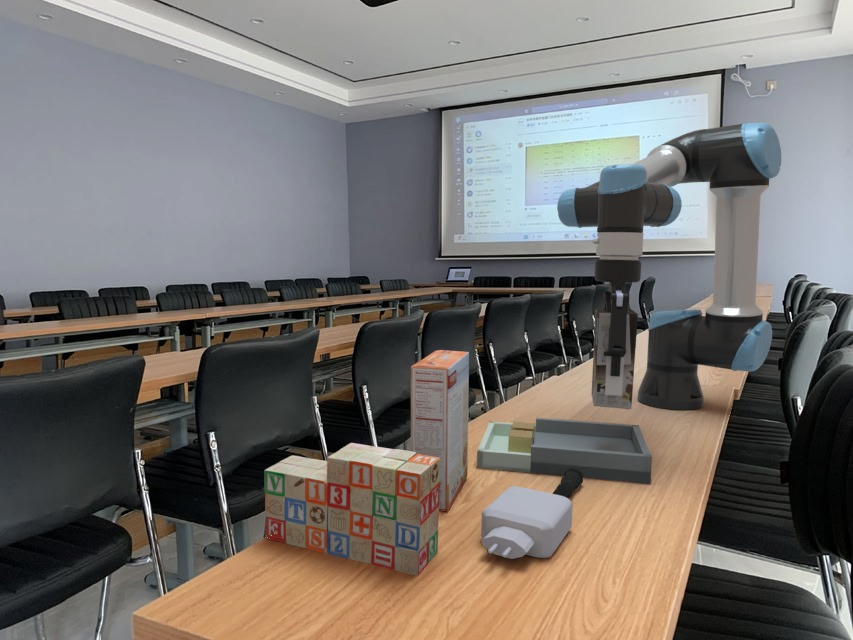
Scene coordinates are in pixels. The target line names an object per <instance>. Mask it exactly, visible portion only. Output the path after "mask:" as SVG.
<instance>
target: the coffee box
mask: <svg viewBox="0 0 853 640" xmlns="http://www.w3.org/2000/svg"><path fill="white" fill-rule="evenodd" d="M638 317H639V314H638V313H637V312H636V311H634V310H633V309H631V308H628V312H627V324H626V354H625V355H624V370H623V388H622V396H618V395H605V381H606V362H607V356H604V351H608V342H609V328H610V318H611V313H608V312H606V310H604V308H599V307H598V308H595V317H594V333H593V335H594V337H593V356H592V380H591V394H590V395H591V399H592V402H593V403H592V404H593V406H594V407H598V408H600V407H601V408H613V409H624V410H631V409H632V405H633V404H632V403H633V390H634V378H635V377H634V373H635V364H636V363H635V361H636V348H637V334H638V333H637V331H638V322H639V321H638V320H639V319H638Z"/></svg>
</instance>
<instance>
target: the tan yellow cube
mask: <svg viewBox="0 0 853 640" xmlns="http://www.w3.org/2000/svg"><path fill="white" fill-rule="evenodd" d="M532 439H533V431H524V430H511V429H510V433H509V442H508V452H519V453H531V445H532Z"/></svg>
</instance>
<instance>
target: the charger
mask: <svg viewBox="0 0 853 640" xmlns="http://www.w3.org/2000/svg"><path fill="white" fill-rule="evenodd" d="M572 523H573V502H572V500H570V498H569V499H568V498H566V497H564V496H560V495H556V494H552V493H551V492H550V493H549V492H546V491H541V490H535V489H532V488H527V487H521V486H518V485H517V486H516V485H515V486H509V487H508V488H507V489H505V491H503V492H502V493H501V494H500V495H499V496H498V497H497V498H496V499H494V500H493V501H492V502H491V503H490V504H489V505H488V506H487V507H485V508H484V509H483V510H482V511H481V526H480V527H481V529H480V530H481V531H480V536H481V539H482V540H480V542H481V544H482V545H483V546H484V547H485V548H486V549H487V553H488V554H494V555H497V556H500V557H502V558H508V559H511V560H513V559H517V558H522V557H524V556H525V555H526V556H530V557H533V558H540V559H548V558H549V559H550V557H552V555H553V554H554V552H555V551H556V550H557V548H558V547H559V545H560V544H561V543H562V541H563V540H564V539H565V537H566V535H567V534H568V533H569V531H570V530H571V529H572V525H573V524H572Z"/></svg>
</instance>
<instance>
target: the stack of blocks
mask: <svg viewBox="0 0 853 640" xmlns="http://www.w3.org/2000/svg"><path fill="white" fill-rule="evenodd" d="M263 473H264V474H263V475H264V476H263V477H264V478H263V479H264V481H263V482H264V490H263V491H264V494H265V500H264V507H265V508H264V511H265V512H264V513H265V539H267V537H268V540H271V541H276V542H281V543H285V544H287V545H290V546H294V547H299V548H301V549H302V548H303V549H307V550H309V551H310V550H311V551H314V552H319V553H322V554H324V555H325V554H328V555H332V556H335V557H339V558H344V559H348V560H353V561H356V562H362V563H364V564H369V565H372V566H376V567H380V568H385V569H389V570H391V571H396V572H399V573H403V574H404V573H405V574H407V575H412V576H416V577H419V576H420V575H421V574H422V572H423V571H424V570H425V569H426V568H427V566H428V565H429V563H430V562H431V561H432V559H433V558H434V557H435V556H436V555H437V554H438V547H439V544H438V543H439V530H438V529H439V516H440V515H439V513H440V512H439V511H440V510H439V500H440V458H439V457H433V456H427V455H422V454H417V453H416V452H412V451H411V450H405V449H399V448H394V449H393V448H387V447H382V446H375V445H374V446H372V445H367V444H363V443H362V444H361V443H355V442H350V443H348V444H346V445H345V446H343V447H342V448H340V449H339V450H337V451H336V452H334V453H332V454H331V455H329V456H327V457H326V460H322V459H321V460H320V459H316V458H309V457H303V456H300V455H290V456H288V457H286V458H284V459H282V460H280V461H279V462H277V463H275V464H273V465H270V466H269V467H268V468H266V469H264V471H263ZM274 533H275V534H274ZM271 535H272V536H271ZM269 538H270V539H269Z"/></svg>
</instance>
